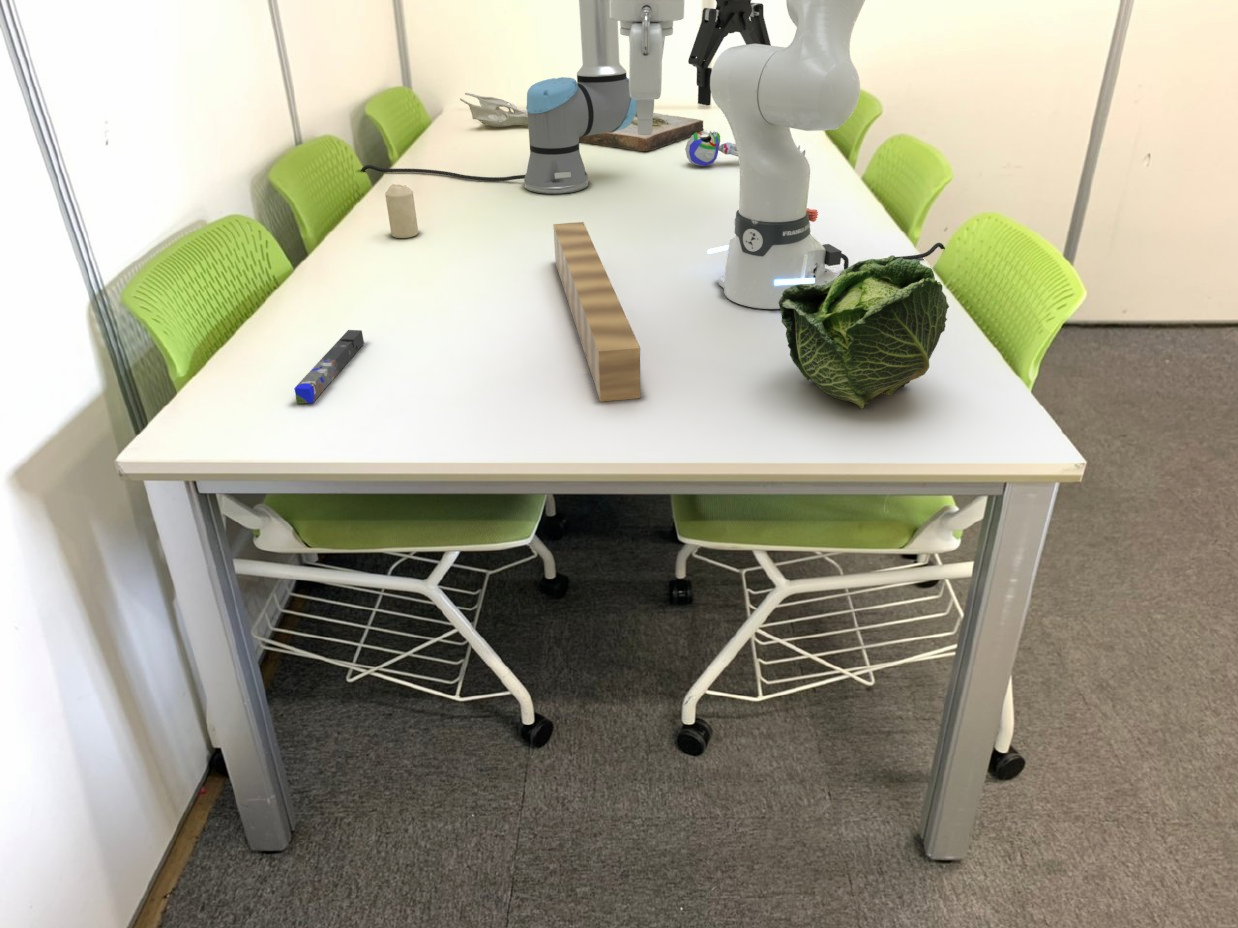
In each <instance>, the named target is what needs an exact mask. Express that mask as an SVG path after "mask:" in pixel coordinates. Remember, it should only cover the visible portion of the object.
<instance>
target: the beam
mask: <svg viewBox="0 0 1238 928" xmlns="http://www.w3.org/2000/svg"><path fill="white" fill-rule="evenodd" d="M552 226H553V241H554V242H553V243H554V259H555V260H554V261H555V266H556V270H557V272H558V276H559V278H560V282H561V285H562V288H563V291H564V293H565V296H566V300H567V303H568V306H569V309H570V312H571V313H570V314H571V315H572V319H573V322H574V325H575V328H576V331H577V335H578V337H579V341H580V343H581V346H582V347H581V348H582V350H583V353H584V356H585V358H586V359H585V360H586V362H587V365H588V368H589V372H590V374H591V377H592V381H593V383H594V387H595V390H596V393H597V396H598V398H599V402H600V403H601V402H614V401H624V400H635V399H641V347H640V344H639V342H638V340H637V337H636V336H635V333H634V331H633V329H632V327H631V324H630V322H629V320H628V318H627V315H626V313H625V311H624V309H623V307H622V304H621V302H620V300H619V298H618V295H617V294H616V291H615V288H614V286H613V284H612V282H611V280H610V278H609V276H608V273H607V271H606V269H605V267H604V265H603V262H602V260H601V258H600V256H599V254H598V251H597V249H596V247H595V245H594V242H593V240H592V238H591V236H590V234H589V231H588V229H587V227H586V225H585V223H584V221H579V222H565V223H564V222H563V223H553V225H552Z"/></svg>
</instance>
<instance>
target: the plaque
mask: <svg viewBox="0 0 1238 928" xmlns="http://www.w3.org/2000/svg"><path fill="white" fill-rule="evenodd" d="M704 130H705V129H704V120H702V119H698V118H693V117H685V116H679V115H669V114H663V113H659V112H653V125H652V133H651V134H650V135H640V134H638V132H637V111H636V114H635V117H634V119H633V121H632V122H631V124H630V125H629V126H628V127H627V128H625V129H622V130H618V131H615V132H613V133H608V132H607V133H600V134H594V135H588V136H582V137H579V143H580V142H581V143H586V144H593V145H597V146H598V145H599V146H607V147H612V148H620V149H625V150H632V151H640V152H648V151H654V150H656V149H659V148H662V147H663V146H664V147H665V146H667V145H670V144H672V143H676V142H680V141H682V140H684V139H687V138H688V139H689V138H691V136H692V135H693V134H694V133H696V132H700V133H701V132H704Z"/></svg>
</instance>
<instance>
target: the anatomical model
mask: <svg viewBox="0 0 1238 928" xmlns="http://www.w3.org/2000/svg"><path fill="white" fill-rule="evenodd" d="M464 96H470V97H473V98H475V99H477V100H478V102H479V105H477V104H473V103H471V102H468V101H467V100H465V99H463V98H461V97H460V98H459V100H460V101H461V102H463V103H464V104H466V105H467V106H468V107H469V110H470V113H471V116H472V120H477V121H479V122H481V124H482V125H487V126H488V127H491V128H505V127H510V126H520V125H522V126H528V114H527V109H525V110H524V109H520V108H518V107H517V106H516V105H515V104H513V103H511V102H510V101H507V100H504V99H502V98H497V97H493V96H485V95H483V96H482V95H478V94H474V93H470V92H464ZM502 108H506V109H508V111H506V110H503V109H502Z"/></svg>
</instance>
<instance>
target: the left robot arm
mask: <svg viewBox="0 0 1238 928" xmlns="http://www.w3.org/2000/svg"><path fill="white" fill-rule="evenodd" d="M715 1H716V2H715V3H716V5H715V8H711V7H704V8H703V9H702V14H701V22H700V25H699V28H698V30H697V33H696V37H695V39H694V42H693V46H692V47H691V51H690V54H689V56H688V60H687V62H688V64H689V65H692V66H693V67H695V68H696V87H698V88H697V104H698V105H703V106H707V107H708V106H711V105H712V104H711V102H712V101H711V100H712V95H711V90H710V77H711V72H712V69H713V67H709V66H710V64H711V63H712V61H713V59H714V57H715V55H716V54H717V52H718V50H719V48H720V47H721V45H722V42H723V41H724V39H725V38H726V37H727V36H728V35H729V34H734V33H739V34H740V35H741V38H742V40H743V41H744V44H745V45H748V44H762V45H770V46H772V44H771V40H770V36H769V32H768V29H767V28H768V27H767V24H766V20H765V15H764V4H763V3H760V2H752V0H715ZM578 8H579V9H578V10H579V26H580V41H581V42H580V43H581V61H582V65H581V67H580V68H579V70H578V71H577V72H576V79H575V78H573V77H565V76H563V77H557V78H555V77H554V78H548V79H544V80H541V81H538V82H535V83H533V84H532V85H531V86H530V87H529V88H528V90H527V92H526V105H525V106H526V107H525V108H526V109H525V110H527V114H528V125H527V127H528V140H529V141H528V142H529V157H528V162H527V168H526V172H525V174H518V175H517V174H516V175H510V176H500V177H499V176H498V177H497V176H494V177H493V176H477V175H476V176H475V175H469V174H461V173H456V172H451V171H445V170H437V169H427V168H426V169H425V168H388V167H387V168H386V167H385V168H383V167H379V166H376V165H373V164H366V165H364V166H363V167H361V169H360V172H365V171H366V170H369V169H370V170H374V171H377V172H381V173H419V174H420V173H421V174H432V175H441V176H447V177H453V178H458V179H463V180H471V181H481V182H482V181H483V182H505V181H506V182H507V181H514V180H523V183H524V188H525V189H526V190H527V191H530V192H531V193H535V194H536V193H537V194H543V195H544V194H545V195H562V194H570V193H576V192H579V191H583V190H584V189H586V188H587V187H589V175H588V173H587V171H586V168H585V164H584V161H583V158H582V156H581V153H580V141H579V137H582V136H588V135H594V134H600V133H607V132H608V133H613V132H615V131H618V130H622V129H625V128H627V127H628V126H629V125H630V124H631V122H632V121H633V119H634V117H635V114H636V111H637V108H636V99H632V98H631V97H630V93H629V77H627V70H626V69H625V68H624V67H623V66H622V64H621V63H620V45H619V44H620V43H619V21H617V20H612V19H610V0H578Z"/></svg>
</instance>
